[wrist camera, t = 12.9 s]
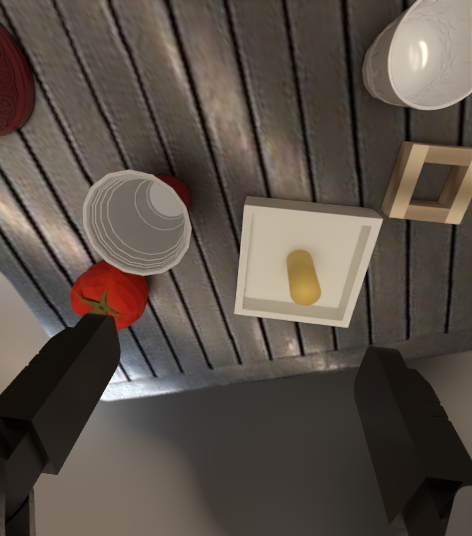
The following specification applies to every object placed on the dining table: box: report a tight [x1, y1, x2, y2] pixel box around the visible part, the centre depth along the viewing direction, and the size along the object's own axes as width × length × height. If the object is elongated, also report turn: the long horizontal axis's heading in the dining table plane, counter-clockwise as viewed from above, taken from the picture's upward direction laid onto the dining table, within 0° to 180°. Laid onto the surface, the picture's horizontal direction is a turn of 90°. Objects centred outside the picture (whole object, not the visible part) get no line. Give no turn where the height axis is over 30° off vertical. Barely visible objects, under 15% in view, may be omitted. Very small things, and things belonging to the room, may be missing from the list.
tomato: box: [70, 260, 149, 331], centre depth 43 cm, size 11×11×9 cm
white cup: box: [362, 0, 472, 110], centre depth 26 cm, size 8×8×10 cm
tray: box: [235, 196, 383, 328], centre depth 41 cm, size 16×16×4 cm
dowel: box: [286, 250, 321, 306], centre depth 38 cm, size 4×4×8 cm
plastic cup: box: [83, 170, 192, 276], centre depth 35 cm, size 11×11×12 cm
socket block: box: [381, 141, 472, 224], centre depth 34 cm, size 8×8×3 cm
